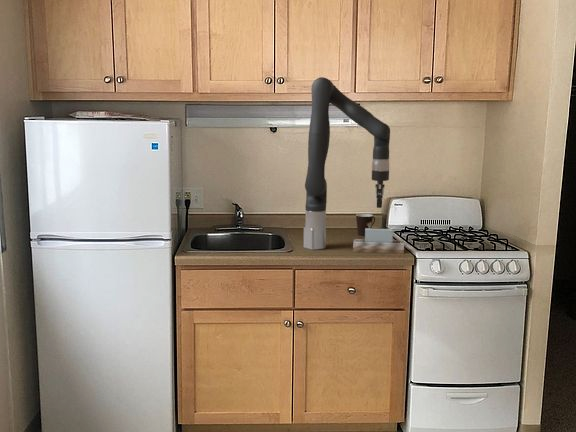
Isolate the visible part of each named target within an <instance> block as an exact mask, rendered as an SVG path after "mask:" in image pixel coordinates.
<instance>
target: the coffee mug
mask: <svg viewBox="0 0 576 432" xmlns="http://www.w3.org/2000/svg"><path fill="white" fill-rule="evenodd" d="M355 218H356V229H357V235H358V236H360V237H365V228H370V229H373V227H372V226H374V224H375V222H376V217H375V216H374V215H373V214H370V213H357V214H355Z"/></svg>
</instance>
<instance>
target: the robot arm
mask: <svg viewBox="0 0 576 432" xmlns="http://www.w3.org/2000/svg"><path fill="white" fill-rule="evenodd" d="M310 89H311V92H310V93H311V112H310V113H311V115H310V120H309V129H308V141H307V145H308V146H307V147H308V148H307V155H308V156H307V161H308V162H307V163H308V165H307V170H306V171H307V172H306V178H305V183H304V189H305V193H306V195H305V196H306V199H305V218H304V220H305V226H303V248H304V249H307V250H312V251H313V250H324V249H326V248H327V247H326V246H327V245H326V243H327V242H326V241H327V234H326V233H327V227H326V226H327V202H328V201H327V199H328V198H327V197H328V196H327V195H328V194H327V193H328V189H327V188H328V185H327V179H326V177H325V176H326V175H325V174H326V173H325V171H326V170H325V168H326V160H327V157H328V153H329V148H330V147H329V146H330V137H331V127H330V126H331V123H330V114H329V109H330V108H329V107H330V104H331V105H333V106H334V107H336V108H337V109H339V111H341V112H342V113H343V114H344V115H345V116H347V117H348V118H349V119H350V120H352V121H353V122H354V123H356V124H357V125H358V126H360V128H361V127H362V128H363V129H364V130H366V131H367V132H368V133H369V134H371V135H372V136H373V138H374V139H373V149H372V162H371V163H372V164H371V180H372V181H375V182H376V183H375V187H374V188H375V196H376V197H375V198H376V208H377V209H379V208H380V209H382V208H383V207H382V206H383V198H384V197H383V196H384V195H385V193H384V192H385V191H384V190H385V184H384V182H387V181H390V139H391V127H390V126H389V125H388V124H387V123H385V122H384V121H381V120H380V119H379V118H377V117H376V116H375V115H373V114H372V112H370V111H369V110H368V109H366V108H364V107H363V106H362V105H361V104H359V103H357V102H355V101H354V100H352V99H351V98H349V97H348V96H347V95H345V94H344V93H342V92H341V90H339V89H338V88H337V87H336V86H335V85H334V83H333V82H332V81H331V80H330V79H328V78H327V77H323V76H322V77H321V76H320V77H318V78H316V79H315V80H314V81H313V82H312V84H311V88H310Z"/></svg>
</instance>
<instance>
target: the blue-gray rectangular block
mask: <svg viewBox="0 0 576 432" xmlns="http://www.w3.org/2000/svg"><path fill="white" fill-rule="evenodd" d="M393 231H394V229H393V228H371V229H370V228H365V236H364V239H365V242H378V243H392V241H393V240H394V239H393V238H394V237H393V236H394V235H393V233H394V232H393Z"/></svg>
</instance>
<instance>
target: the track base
mask: <svg viewBox="0 0 576 432" xmlns="http://www.w3.org/2000/svg"><path fill="white" fill-rule="evenodd" d="M352 243H353V244H352V252H353V253H354V252H355V253H356V252H357V253H379V254H382V253H383V254H405V241H404V240H395V239H393V241H392V243H378V242H365V238H362V239H360V238H354V239H353V242H352Z"/></svg>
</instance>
